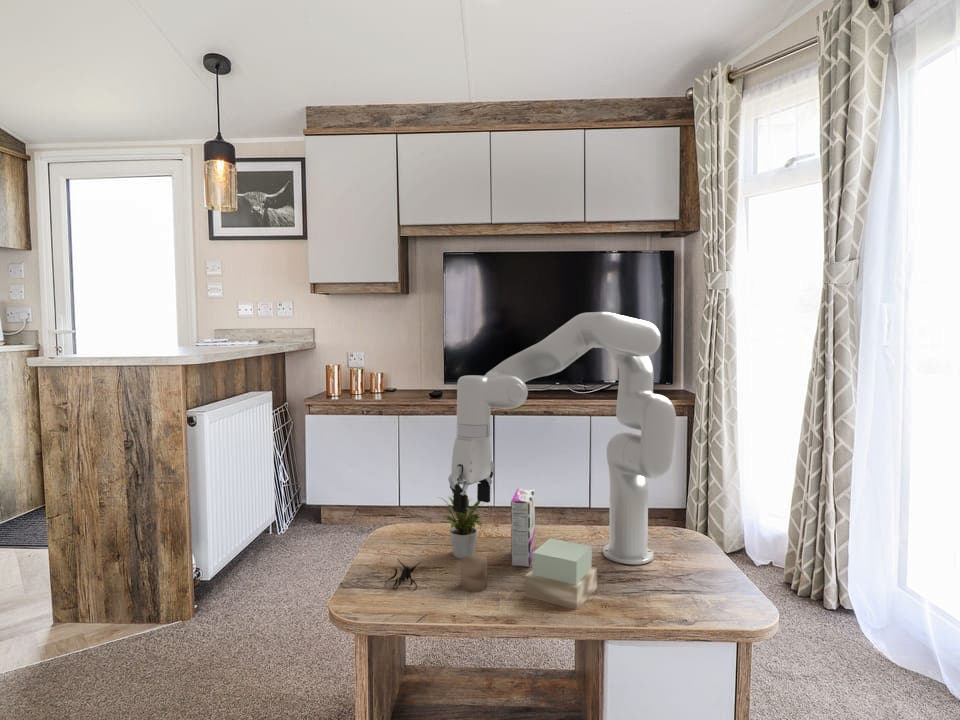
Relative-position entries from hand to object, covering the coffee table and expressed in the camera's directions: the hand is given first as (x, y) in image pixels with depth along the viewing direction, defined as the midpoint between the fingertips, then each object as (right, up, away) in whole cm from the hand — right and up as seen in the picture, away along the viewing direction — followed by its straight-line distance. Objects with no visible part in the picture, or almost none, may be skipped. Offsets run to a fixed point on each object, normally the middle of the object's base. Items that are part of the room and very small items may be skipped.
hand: (472, 506), depth 129 cm
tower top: (+20, -14, -2) cm, 24 cm away
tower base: (+20, -19, -2) cm, 27 cm away
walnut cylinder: (0, -18, +1) cm, 18 cm away
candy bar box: (+13, -18, +17) cm, 28 cm away
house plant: (-4, -18, +19) cm, 26 cm away
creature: (-16, -19, +1) cm, 24 cm away
